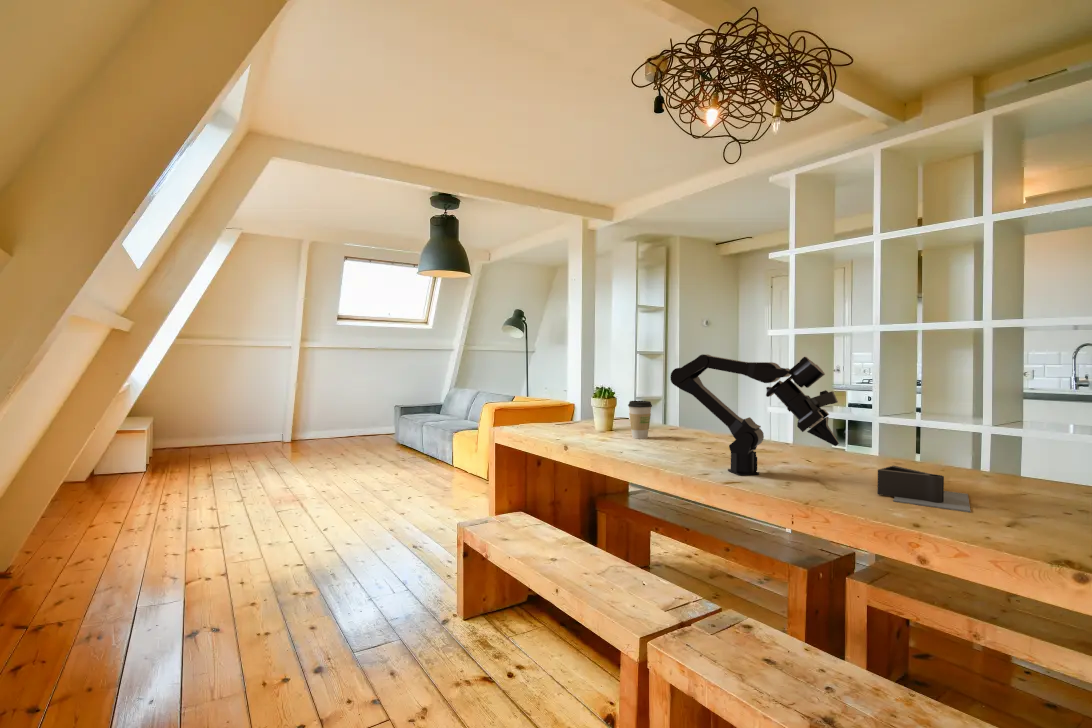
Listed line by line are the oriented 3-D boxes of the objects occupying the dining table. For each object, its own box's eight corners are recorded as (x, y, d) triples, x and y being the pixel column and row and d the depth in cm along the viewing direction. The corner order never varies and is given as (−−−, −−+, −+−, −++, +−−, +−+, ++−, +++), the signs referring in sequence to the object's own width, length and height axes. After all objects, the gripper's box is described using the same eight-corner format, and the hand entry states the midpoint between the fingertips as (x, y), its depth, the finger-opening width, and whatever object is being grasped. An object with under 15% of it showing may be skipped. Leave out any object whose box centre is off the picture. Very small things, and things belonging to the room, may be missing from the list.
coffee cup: (654, 439, 212) (654, 402, 212) (629, 439, 212) (629, 402, 212) (649, 436, 222) (649, 400, 221) (626, 435, 222) (626, 400, 222)
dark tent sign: (893, 465, 133) (950, 474, 123) (893, 489, 133) (950, 499, 123) (877, 469, 128) (935, 479, 118) (876, 494, 128) (935, 505, 118)
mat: (893, 501, 123) (893, 500, 123) (899, 486, 137) (899, 485, 137) (970, 512, 114) (970, 511, 114) (967, 495, 129) (967, 493, 129)
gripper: (814, 379, 133) (862, 427, 127) (822, 380, 149) (865, 423, 143) (778, 407, 137) (823, 455, 131) (790, 405, 153) (830, 448, 147)
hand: (837, 444), depth 138 cm, fingers closed
